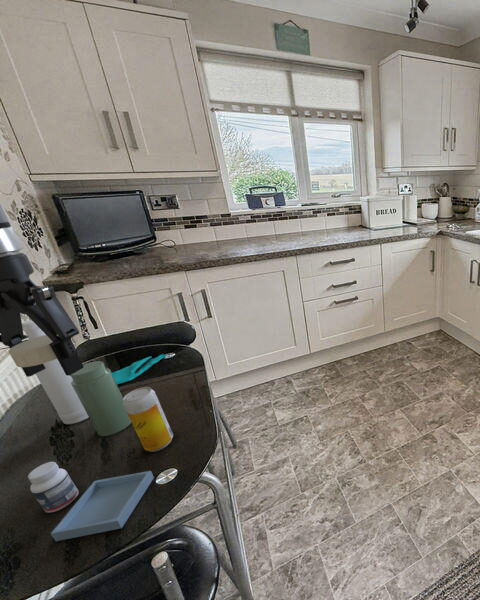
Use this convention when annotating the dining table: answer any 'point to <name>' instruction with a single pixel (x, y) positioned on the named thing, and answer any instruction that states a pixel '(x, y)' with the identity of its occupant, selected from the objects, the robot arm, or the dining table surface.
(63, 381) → the bottle
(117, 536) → the dining table surface
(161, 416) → the beer can
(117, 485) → the dish
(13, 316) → the robot arm
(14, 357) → the flask lid
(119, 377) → the turquoise rubber glove
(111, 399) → the flask
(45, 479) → the pill bottle
